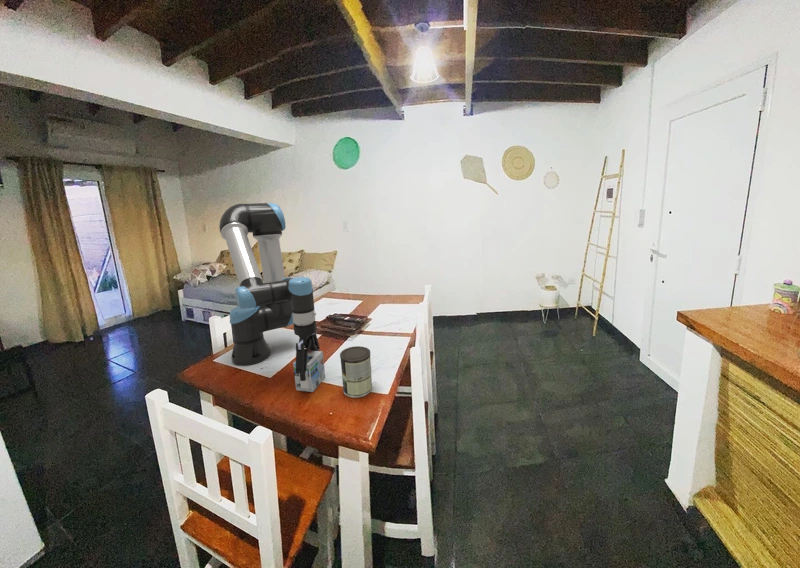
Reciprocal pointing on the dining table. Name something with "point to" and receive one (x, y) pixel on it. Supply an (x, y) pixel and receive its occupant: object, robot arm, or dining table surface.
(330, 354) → the dining table surface
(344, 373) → the coffee can
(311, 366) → the light bulb box
